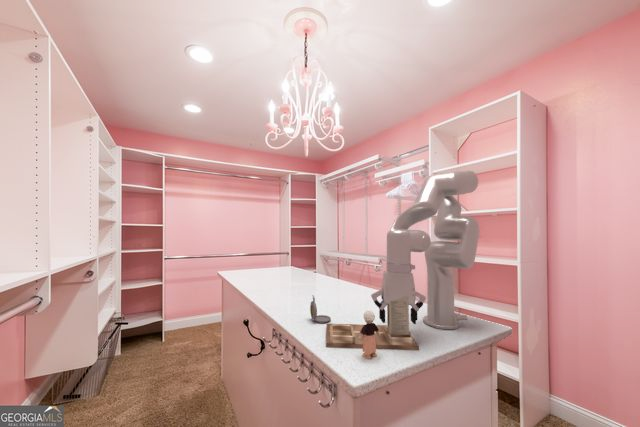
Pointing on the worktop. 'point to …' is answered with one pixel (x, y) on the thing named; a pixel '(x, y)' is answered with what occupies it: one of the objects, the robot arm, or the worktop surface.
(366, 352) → the grandmother figurine
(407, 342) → the board
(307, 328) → the worktop surface
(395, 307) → the skincare box
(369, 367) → the worktop surface
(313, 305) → the pocket watch
